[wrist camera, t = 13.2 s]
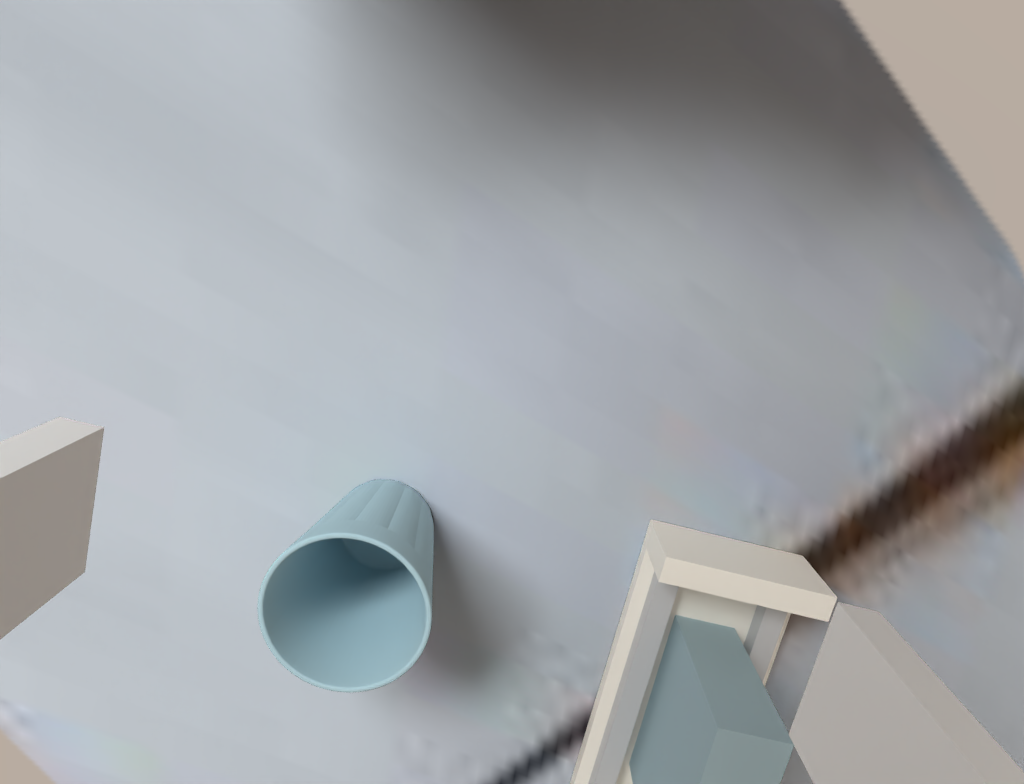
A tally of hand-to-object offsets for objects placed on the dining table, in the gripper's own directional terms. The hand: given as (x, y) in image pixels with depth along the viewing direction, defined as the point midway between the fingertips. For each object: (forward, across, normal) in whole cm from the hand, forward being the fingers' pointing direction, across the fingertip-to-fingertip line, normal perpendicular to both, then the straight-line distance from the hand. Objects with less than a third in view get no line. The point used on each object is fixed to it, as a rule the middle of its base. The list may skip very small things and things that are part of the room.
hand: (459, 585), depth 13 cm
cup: (+29, -4, -12) cm, 32 cm away
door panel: (+28, +15, -18) cm, 36 cm away
